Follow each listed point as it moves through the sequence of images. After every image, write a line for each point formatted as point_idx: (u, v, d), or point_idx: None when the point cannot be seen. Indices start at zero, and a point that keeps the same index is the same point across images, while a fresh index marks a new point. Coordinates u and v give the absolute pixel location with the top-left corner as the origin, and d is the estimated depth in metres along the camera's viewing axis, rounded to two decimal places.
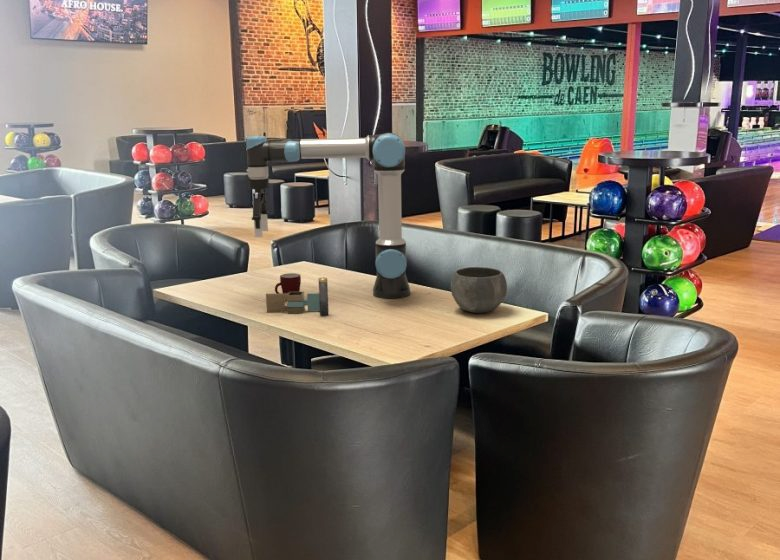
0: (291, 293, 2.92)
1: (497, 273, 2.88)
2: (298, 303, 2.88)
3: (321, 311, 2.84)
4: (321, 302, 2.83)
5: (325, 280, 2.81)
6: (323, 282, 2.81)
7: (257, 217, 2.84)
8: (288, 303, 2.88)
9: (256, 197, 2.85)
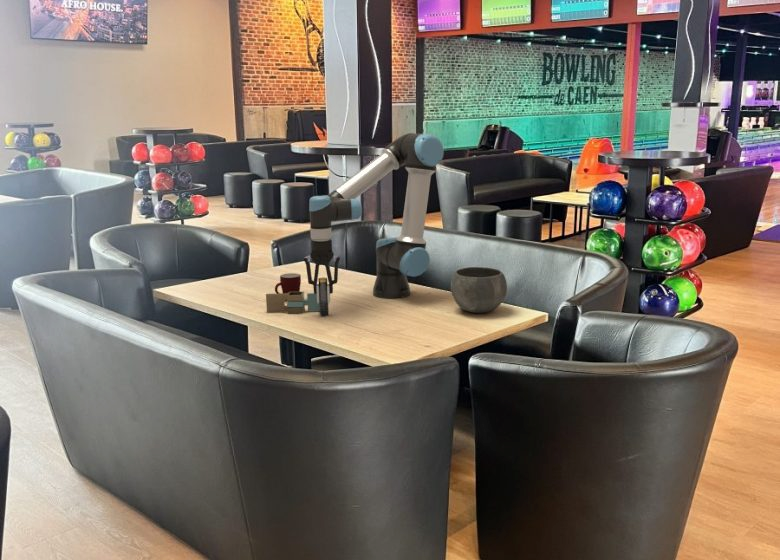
0: (291, 293, 2.92)
1: (497, 273, 2.88)
2: (298, 303, 2.88)
3: (321, 311, 2.84)
4: (321, 302, 2.83)
5: (325, 280, 2.81)
6: (323, 282, 2.81)
7: None
8: (288, 303, 2.88)
9: None
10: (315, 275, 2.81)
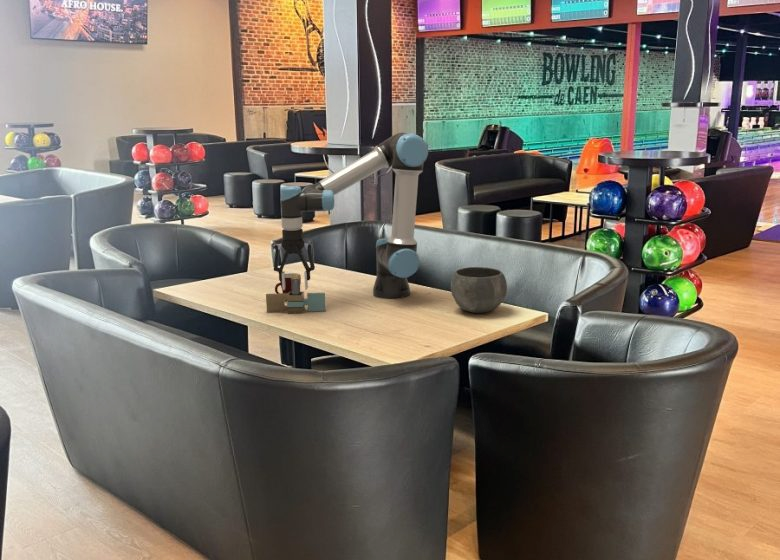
0: (291, 293, 2.92)
1: (497, 273, 2.88)
2: (298, 303, 2.88)
3: (293, 307, 2.89)
4: None
5: (298, 277, 2.87)
6: (296, 279, 2.87)
7: (274, 269, 2.87)
8: (288, 303, 2.88)
9: None
10: (282, 263, 2.86)
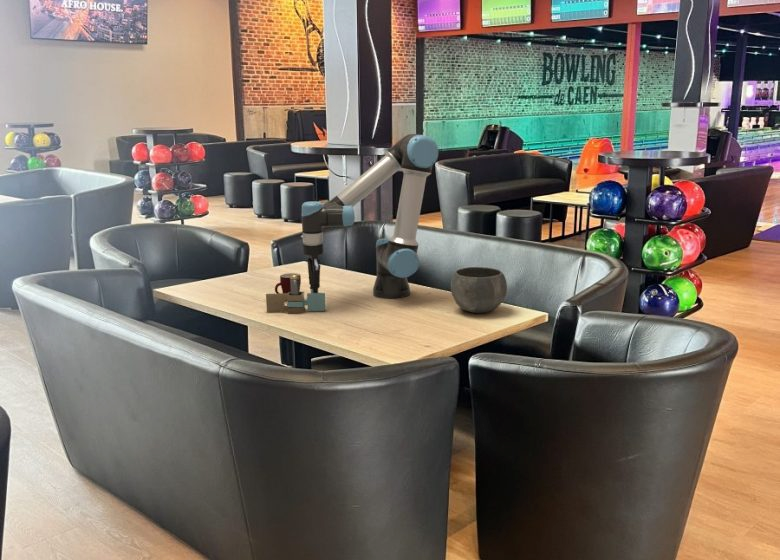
0: None
1: (497, 273, 2.88)
2: (298, 303, 2.87)
3: (293, 307, 2.90)
4: None
5: (297, 277, 2.87)
6: (295, 279, 2.87)
7: (317, 286, 2.89)
8: (288, 303, 2.88)
9: (316, 269, 2.85)
10: None
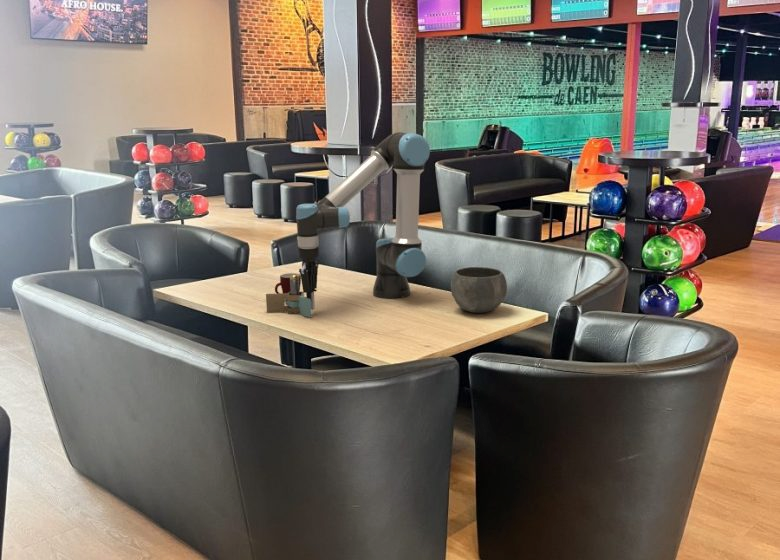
0: None
1: (497, 273, 2.88)
2: (290, 303, 2.88)
3: None
4: None
5: (296, 277, 2.87)
6: (294, 279, 2.87)
7: (307, 291, 2.82)
8: (286, 301, 2.91)
9: (303, 273, 2.78)
10: (311, 283, 2.83)
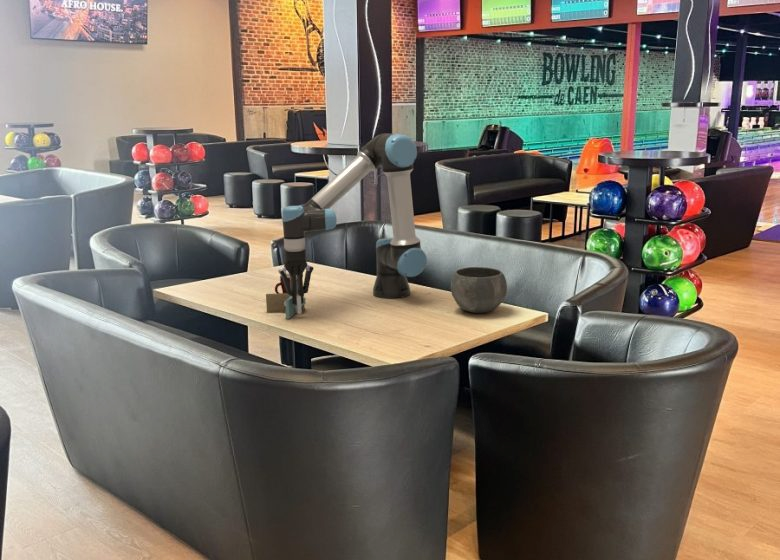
0: None
1: (497, 273, 2.88)
2: None
3: None
4: None
5: (296, 277, 2.87)
6: None
7: (288, 293, 2.79)
8: None
9: (281, 275, 2.77)
10: (294, 286, 2.79)
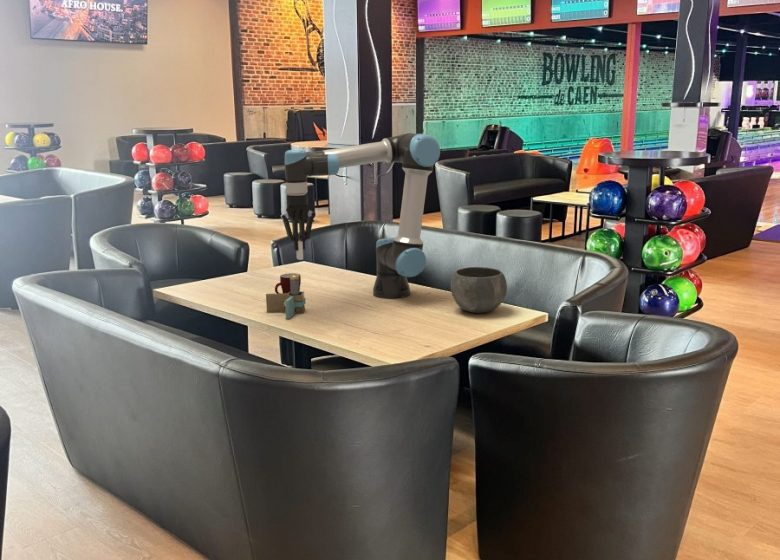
0: None
1: (497, 273, 2.88)
2: None
3: None
4: None
5: (296, 277, 2.87)
6: (294, 279, 2.87)
7: (290, 238, 2.77)
8: None
9: (283, 219, 2.75)
10: (296, 231, 2.76)
